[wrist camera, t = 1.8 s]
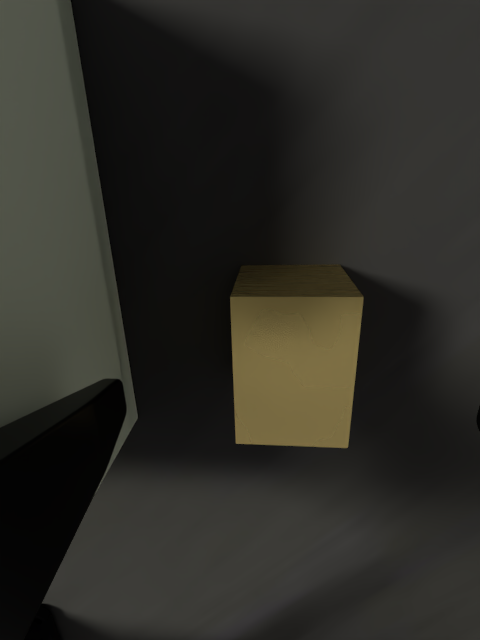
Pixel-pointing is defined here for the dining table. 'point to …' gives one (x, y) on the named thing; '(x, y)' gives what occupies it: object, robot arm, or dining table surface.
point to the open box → (52, 223)
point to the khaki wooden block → (294, 354)
